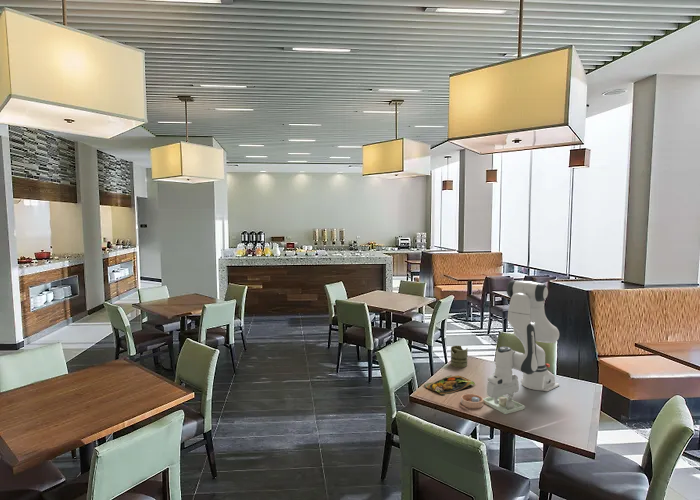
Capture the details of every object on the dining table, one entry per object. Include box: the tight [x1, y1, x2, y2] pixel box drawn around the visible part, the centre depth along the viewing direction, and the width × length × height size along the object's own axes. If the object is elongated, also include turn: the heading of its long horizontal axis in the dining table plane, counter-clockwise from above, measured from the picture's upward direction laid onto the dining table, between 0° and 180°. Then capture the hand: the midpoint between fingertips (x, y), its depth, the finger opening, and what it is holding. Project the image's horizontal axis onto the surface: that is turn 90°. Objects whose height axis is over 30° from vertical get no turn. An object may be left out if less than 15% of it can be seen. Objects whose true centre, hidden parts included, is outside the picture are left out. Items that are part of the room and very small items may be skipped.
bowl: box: [460, 393, 485, 409], centre depth 224 cm, size 12×12×4 cm
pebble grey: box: [506, 400, 514, 410], centre depth 217 cm, size 4×4×4 cm
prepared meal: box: [423, 374, 476, 397], centre depth 249 cm, size 28×4×18 cm
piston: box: [450, 345, 469, 369], centre depth 287 cm, size 11×12×11 cm
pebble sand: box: [499, 397, 507, 407], centre depth 221 cm, size 4×4×4 cm
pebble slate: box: [472, 397, 479, 402], centre depth 221 cm, size 4×4×4 cm
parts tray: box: [482, 395, 526, 415], centre depth 221 cm, size 14×17×2 cm
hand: (503, 402), depth 221 cm, fingers open, 8 cm apart
